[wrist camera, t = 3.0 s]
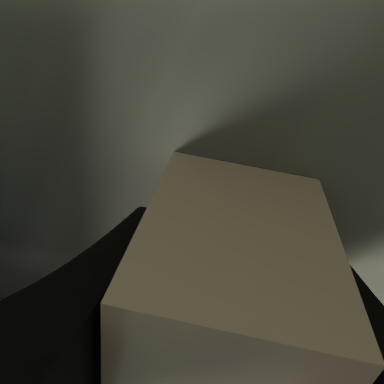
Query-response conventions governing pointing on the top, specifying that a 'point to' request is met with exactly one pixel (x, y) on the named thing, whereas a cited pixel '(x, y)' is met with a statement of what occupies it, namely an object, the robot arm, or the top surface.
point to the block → (235, 285)
